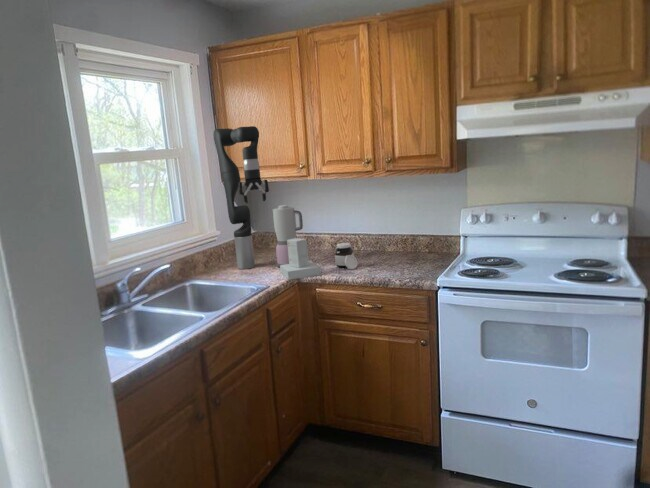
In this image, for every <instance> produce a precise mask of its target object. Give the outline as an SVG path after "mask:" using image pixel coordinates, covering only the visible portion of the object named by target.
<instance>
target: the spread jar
mask: <svg viewBox="0 0 650 488" xmlns="http://www.w3.org/2000/svg"><path fill="white" fill-rule="evenodd" d="M334 253H335V254H334V256H335V257H334V258H335V259H334V261H335V265H336V267H337V268H338V269H341V270H342V269H348V270H354V269H356V268H357V267H358V260H357V258H356V257H355V255H354V254H355V253H354V250H353V248H352V247H351V243H350V242H342V243H337V244H336V250H335V252H334Z"/></svg>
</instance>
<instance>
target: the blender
mask: <svg viewBox="0 0 650 488" xmlns="http://www.w3.org/2000/svg"><path fill="white" fill-rule="evenodd" d="M272 213H273V215H272V217H273V226H274V231H275V235H276V238H277V242H276V243H277V244H276V245H275V246H276V247H275V253H276V255H275V256H276V261H277V262H276V263H277V268H279V269H280V265H285V264H289V256H288V245H287V240H290V239H295V238H297V235H296V234H297V231H300V230H302V229H303V227H304V225H303V224H304V223H303V214H302V212H301V211H299V210H295V207H293V206H289V205H288V204H283V205H278V207H276V208H272ZM296 215H298V222H299V223H298V227H297V221H296Z"/></svg>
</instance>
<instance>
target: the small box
mask: <svg viewBox="0 0 650 488" xmlns="http://www.w3.org/2000/svg"><path fill="white" fill-rule="evenodd" d="M287 245H288V256H289V266H293V267H298V268H300V267H304V266H308V265H309V261H310V260H309V251H308V241H307V238H299V237H296V238H295V239H290V240H287Z"/></svg>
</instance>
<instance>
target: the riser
mask: <svg viewBox="0 0 650 488" xmlns="http://www.w3.org/2000/svg"><path fill="white" fill-rule="evenodd" d="M279 269H280V275H283V277H284V278H286V279H287V280H288V281H290V280H291V281H292V280H297V279H303V278H309V277H315V276H321V275H322V270H321V269H322V268H321V265H318V264H317V263H316V262H314V261H312V260H309V265H308V266H304V267H300V268H298V267H293V266H289V264H285V265H280V268H279Z"/></svg>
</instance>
